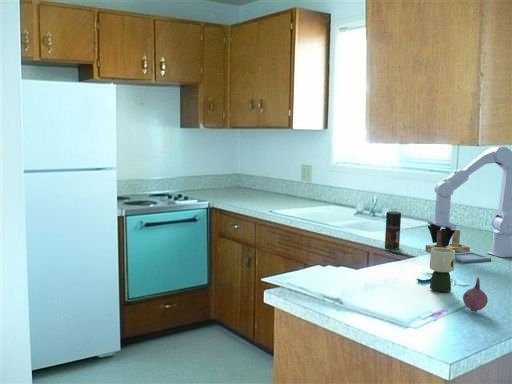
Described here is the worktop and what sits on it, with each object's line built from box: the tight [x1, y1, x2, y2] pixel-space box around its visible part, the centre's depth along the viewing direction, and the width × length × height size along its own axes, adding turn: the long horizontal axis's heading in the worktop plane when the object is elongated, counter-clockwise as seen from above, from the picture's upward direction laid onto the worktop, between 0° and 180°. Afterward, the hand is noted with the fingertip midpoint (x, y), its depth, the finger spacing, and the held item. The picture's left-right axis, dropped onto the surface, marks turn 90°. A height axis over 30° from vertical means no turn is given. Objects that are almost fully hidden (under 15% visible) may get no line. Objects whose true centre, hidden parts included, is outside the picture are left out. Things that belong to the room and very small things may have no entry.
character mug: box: [429, 247, 456, 293], centre depth 165 cm, size 11×7×13 cm, turn 167°
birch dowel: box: [451, 228, 461, 247], centre depth 221 cm, size 3×3×9 cm
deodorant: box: [384, 211, 402, 250], centre depth 224 cm, size 6×6×15 cm
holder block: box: [424, 242, 471, 254], centre depth 220 cm, size 16×8×2 cm, turn 113°
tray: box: [455, 251, 492, 264], centre depth 209 cm, size 14×10×1 cm
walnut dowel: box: [435, 229, 444, 248], centre depth 218 cm, size 3×3×9 cm
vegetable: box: [462, 276, 488, 313], centre depth 146 cm, size 6×6×10 cm
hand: (440, 244), depth 218 cm, fingers open, 6 cm apart
